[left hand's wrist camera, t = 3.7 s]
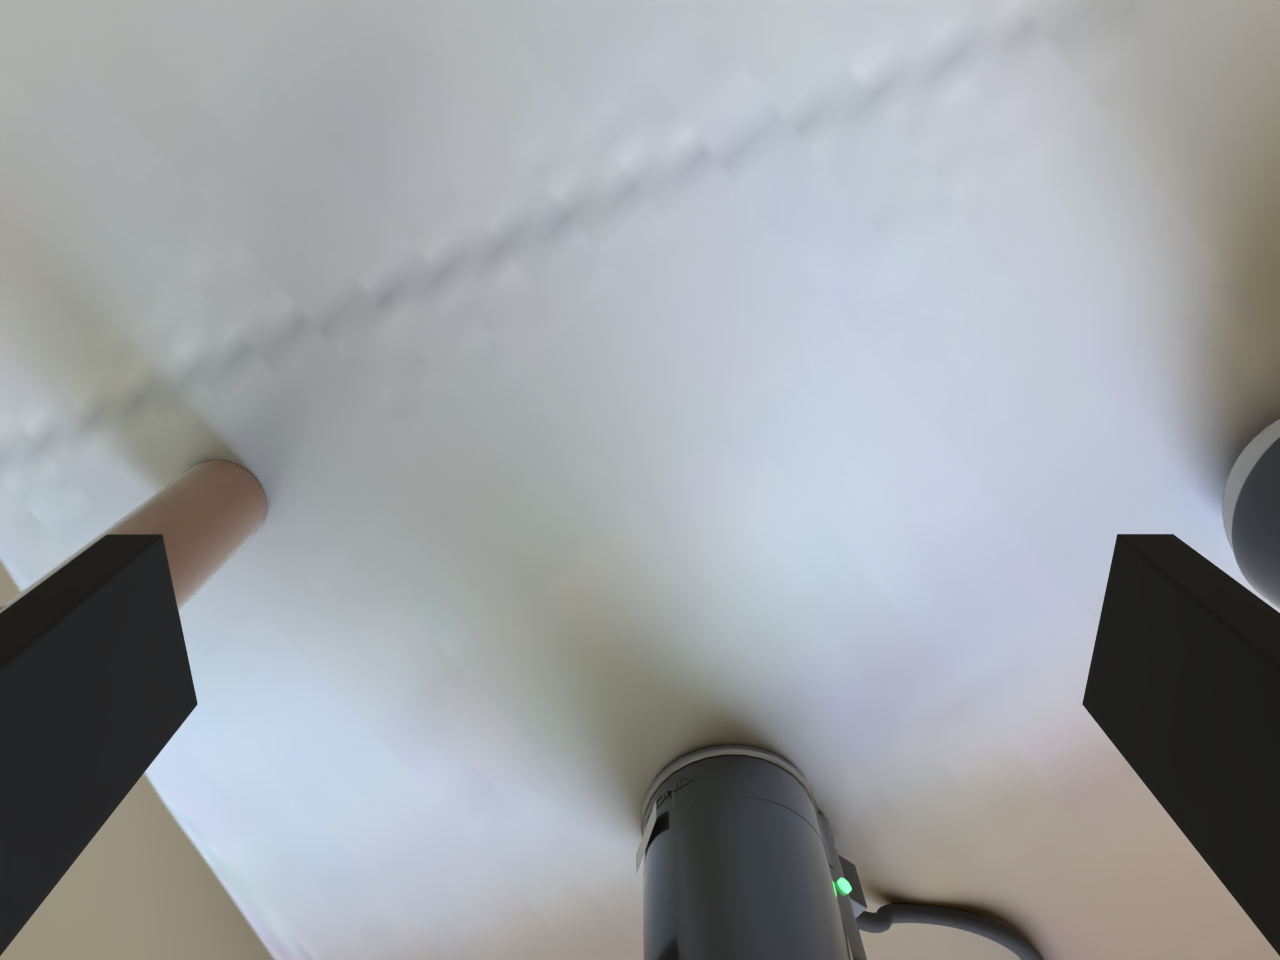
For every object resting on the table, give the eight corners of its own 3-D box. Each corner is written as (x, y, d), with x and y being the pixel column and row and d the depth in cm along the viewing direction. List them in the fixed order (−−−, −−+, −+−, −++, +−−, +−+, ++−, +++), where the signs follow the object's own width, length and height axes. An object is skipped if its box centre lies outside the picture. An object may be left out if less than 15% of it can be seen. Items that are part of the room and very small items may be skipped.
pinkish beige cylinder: (186, 538, 43) (-125, 811, 25) (173, 458, 41) (-166, 688, 24) (272, 541, 43) (20, 816, 26) (262, 460, 41) (-12, 693, 24)
